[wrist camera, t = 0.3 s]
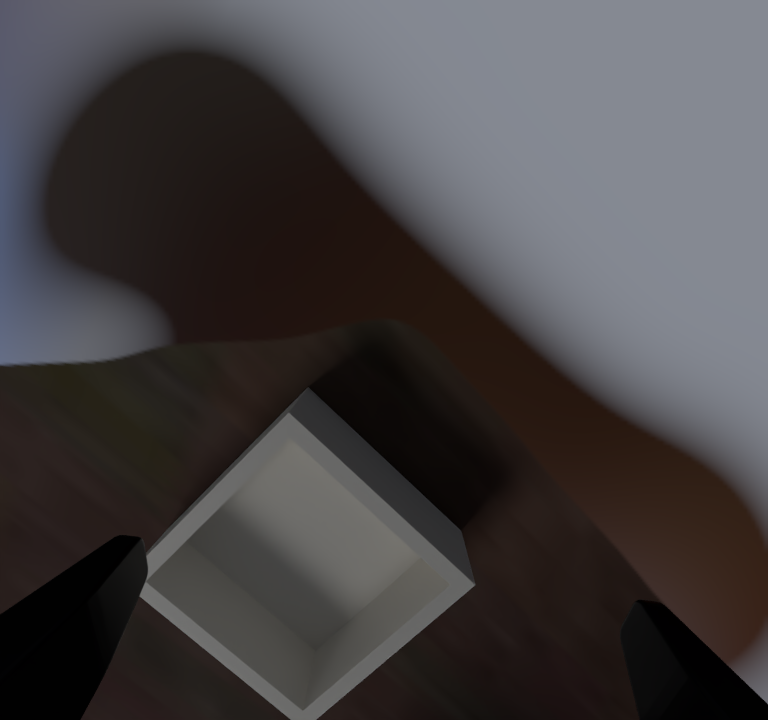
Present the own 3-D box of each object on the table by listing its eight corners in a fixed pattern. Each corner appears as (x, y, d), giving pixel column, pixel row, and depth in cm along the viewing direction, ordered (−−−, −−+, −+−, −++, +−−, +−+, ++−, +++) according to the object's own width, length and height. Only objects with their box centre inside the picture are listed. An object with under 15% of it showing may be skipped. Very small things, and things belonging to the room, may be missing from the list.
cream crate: (318, 655, 27) (303, 729, 22) (168, 528, 25) (121, 581, 21) (461, 530, 25) (475, 584, 21) (308, 386, 24) (288, 412, 19)
